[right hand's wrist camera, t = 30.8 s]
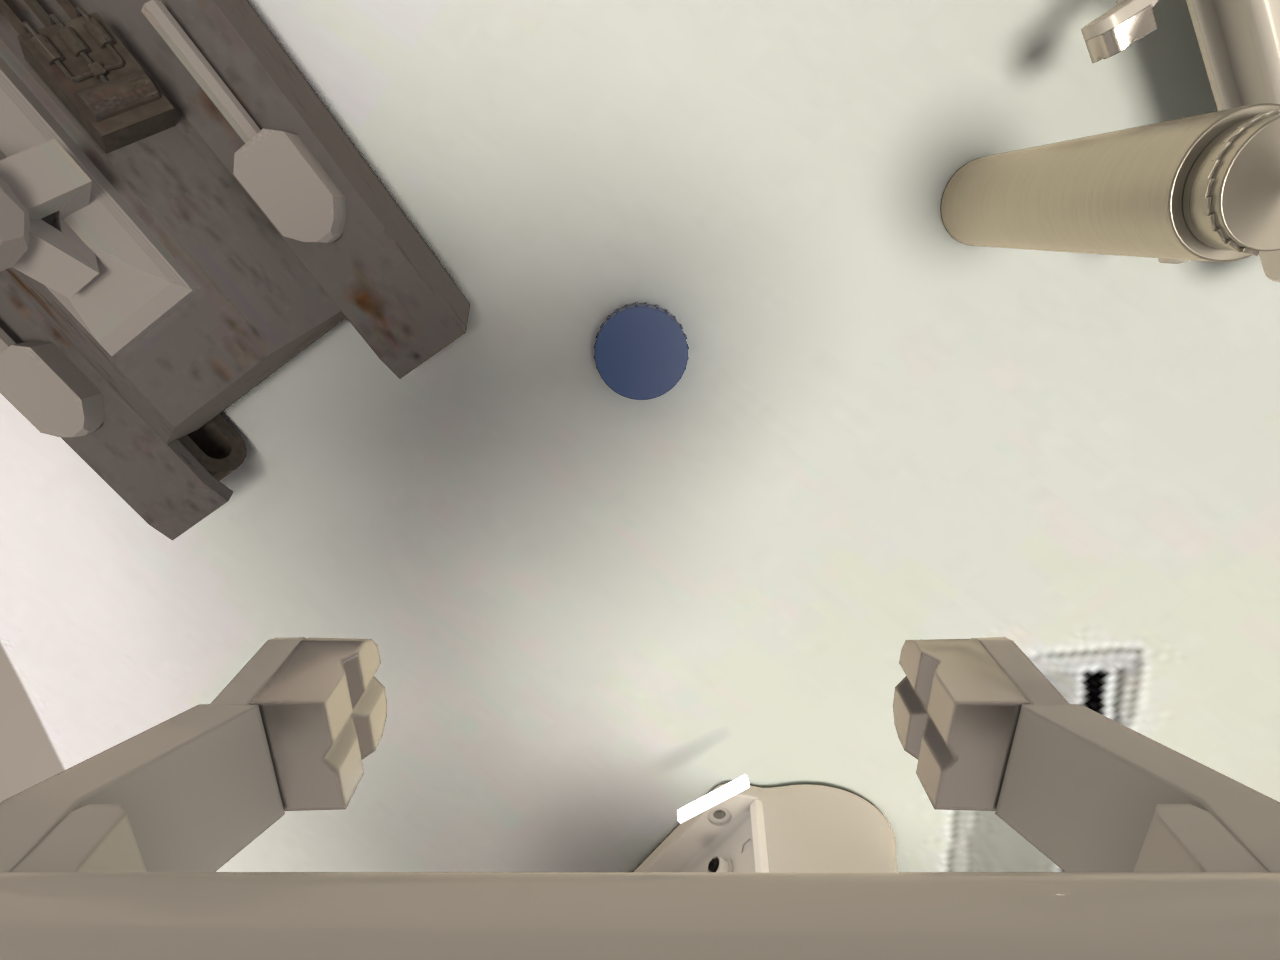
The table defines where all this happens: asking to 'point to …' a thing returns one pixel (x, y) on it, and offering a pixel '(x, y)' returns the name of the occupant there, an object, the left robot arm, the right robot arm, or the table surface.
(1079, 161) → the tan tube
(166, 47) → the toy
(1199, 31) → the left robot arm
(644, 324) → the lid
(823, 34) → the table surface
